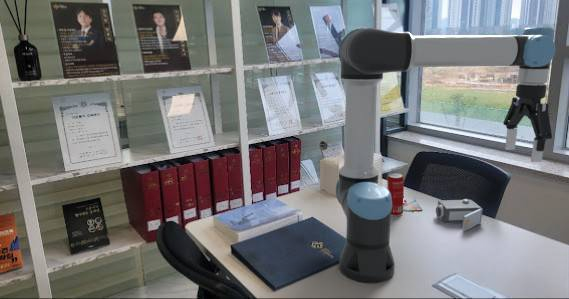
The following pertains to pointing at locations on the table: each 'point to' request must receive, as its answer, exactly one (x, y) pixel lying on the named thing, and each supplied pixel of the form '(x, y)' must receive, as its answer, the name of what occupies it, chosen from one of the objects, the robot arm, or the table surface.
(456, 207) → the grey video camera
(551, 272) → the table surface
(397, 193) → the beverage can
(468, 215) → the side door
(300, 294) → the table surface
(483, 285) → the table surface
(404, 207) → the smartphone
